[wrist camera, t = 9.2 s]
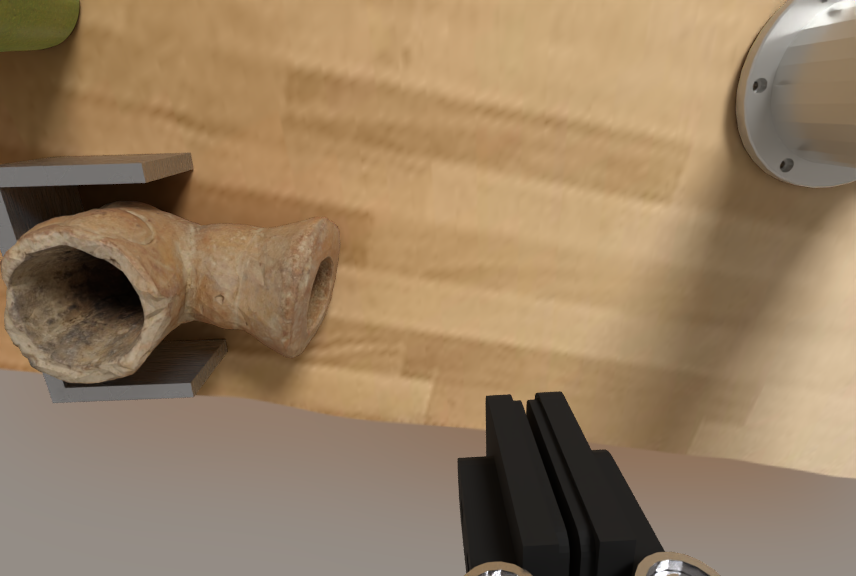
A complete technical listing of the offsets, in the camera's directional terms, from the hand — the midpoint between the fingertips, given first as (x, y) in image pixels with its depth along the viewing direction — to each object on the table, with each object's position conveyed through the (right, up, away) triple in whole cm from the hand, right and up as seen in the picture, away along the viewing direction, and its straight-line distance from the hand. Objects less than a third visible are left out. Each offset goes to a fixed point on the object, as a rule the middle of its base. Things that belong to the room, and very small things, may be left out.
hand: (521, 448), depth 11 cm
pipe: (-16, +6, +22) cm, 28 cm away
